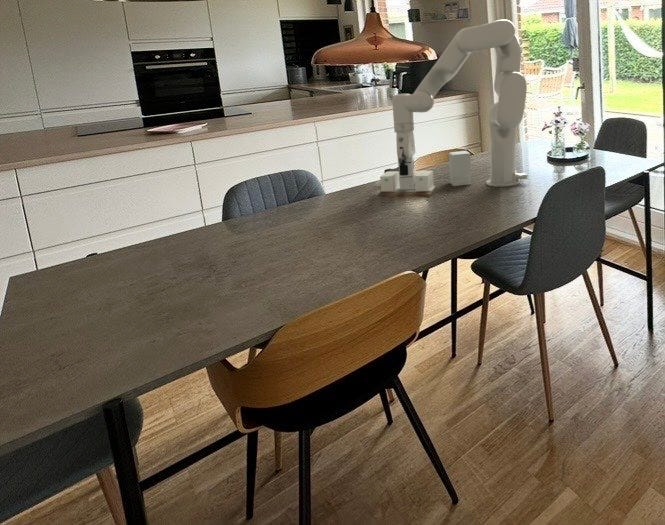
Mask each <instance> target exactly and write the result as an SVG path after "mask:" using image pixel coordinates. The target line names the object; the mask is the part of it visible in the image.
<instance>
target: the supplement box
mask: <svg viewBox="0 0 665 525" xmlns="http://www.w3.org/2000/svg"><path fill="white" fill-rule="evenodd" d="M448 160H449V164H448V165H449V169H448V170H449V183H450V184H451V186H453V187H456V186H458V187H459V186H468V185H471V184H472V174H471V170H472V169H471V168H472V167H471V166H472V165H471V153H470V152H469V151H467V150H460V151H453V152H449V153H448Z"/></svg>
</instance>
